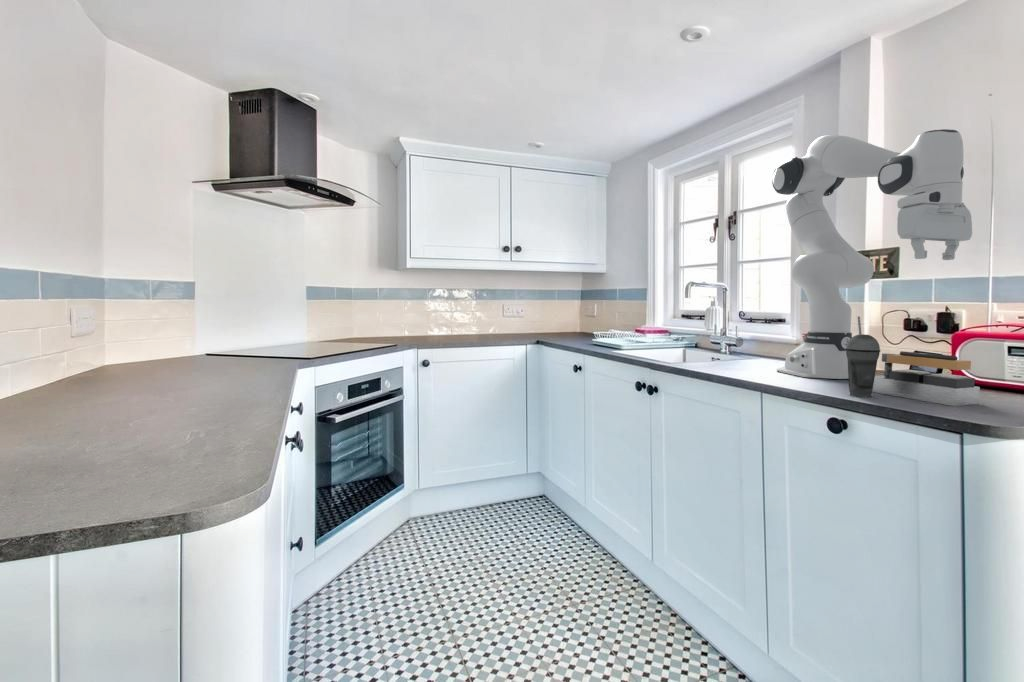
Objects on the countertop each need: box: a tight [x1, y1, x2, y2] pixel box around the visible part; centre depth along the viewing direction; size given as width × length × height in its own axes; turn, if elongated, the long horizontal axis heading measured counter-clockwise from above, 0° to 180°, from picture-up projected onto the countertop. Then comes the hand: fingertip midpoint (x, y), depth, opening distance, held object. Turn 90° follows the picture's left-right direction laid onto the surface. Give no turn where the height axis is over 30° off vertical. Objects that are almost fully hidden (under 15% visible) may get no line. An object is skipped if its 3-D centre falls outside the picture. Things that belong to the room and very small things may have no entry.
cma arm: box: [881, 350, 972, 371], centre depth 123 cm, size 18×4×3 cm, turn 17°
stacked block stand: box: [872, 362, 981, 407], centre depth 123 cm, size 20×8×8 cm, turn 17°
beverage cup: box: [845, 316, 882, 398], centre depth 125 cm, size 7×7×20 cm
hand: (934, 259), depth 117 cm, fingers open, 8 cm apart
